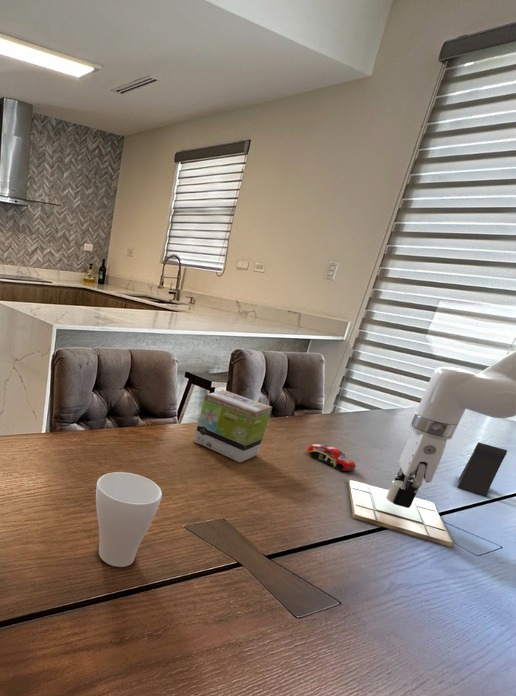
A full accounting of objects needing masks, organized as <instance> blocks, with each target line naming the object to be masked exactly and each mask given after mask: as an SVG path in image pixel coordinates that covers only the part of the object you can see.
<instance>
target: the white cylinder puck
mask: <svg viewBox="0 0 516 696" xmlns="http://www.w3.org/2000/svg"><path fill="white" fill-rule="evenodd" d="M403 482H404V481H399V480H395V479H394V480H392V482H391V484H390V486H389V488H388V489H387V490H388V493H387V495H386V499H387V500H389V501H390V502H392V503H393V500H394V498H395V496H396V494H397V492H398V489H399V487H402V484H403ZM407 484H408V483H407ZM417 494H418V492H417V493H416V495H415V497H416V496H417ZM412 503H413V502H412ZM411 505H412V504H411Z"/></svg>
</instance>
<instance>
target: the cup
mask: <svg viewBox="0 0 516 696" xmlns="http://www.w3.org/2000/svg"><path fill="white" fill-rule="evenodd" d="M162 497H163V492H162V489H161V487H160V486H159V485H158V484H157V483H156V482H154V481H153V480H151V479H149V478H147V477H146V476H143V475H139V474H137V473H131V472H126V471H125V472H123V471H115V472H109V473H105V474H103V475H101V476H100V477H99V478H98V479H97V482H96V489H95V505H96V507H95V508H96V516H97V525H98V536H99V545H98V556H99V557H100V559H101V560H102V561H103V562H104V563H106V564H107V565H110V566H112V567H117V568H124V567H125V568H126V567H129V566H130V565H132V564H134V563H133V562H134V561H135V558H136V555H137V553H138V549H139V548H140V545H141V543H142V541H143V539H144V537H145V535H146V534H147V532H148V531H149V529H150V527H151V525H152V522H153V521H154V519H155V517H156V514H157V512H158V510H159V507H160V504H161V500H162Z"/></svg>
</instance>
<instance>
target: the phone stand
mask: <svg viewBox="0 0 516 696" xmlns="http://www.w3.org/2000/svg"><path fill="white" fill-rule="evenodd" d="M507 453H508V449H505V448H500V447H497V446H493V445H491V444H490V445H489V444H486V443H483V442H477V444H476V445H475V448H474V449H473V452H472V454H470V455H471V456H469V459H468V461H467V463H466V465H465V466H464V468H463V470H462V472H461V474H460V475H459V478H458V482H457V488H458V489H461V490H463V491H464V490H465V491H468V492H469V493H470V492H471V493H474V494H476V495H480V496H483V497H486V496H487V494H488V492H489V490H490V488H491V486H492V483H493V482H494V480H495V477H496V476H497V473H498V471H499V468H500V467H501V465H502V463H503V461H504V459H505V458H506V456H507Z"/></svg>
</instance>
